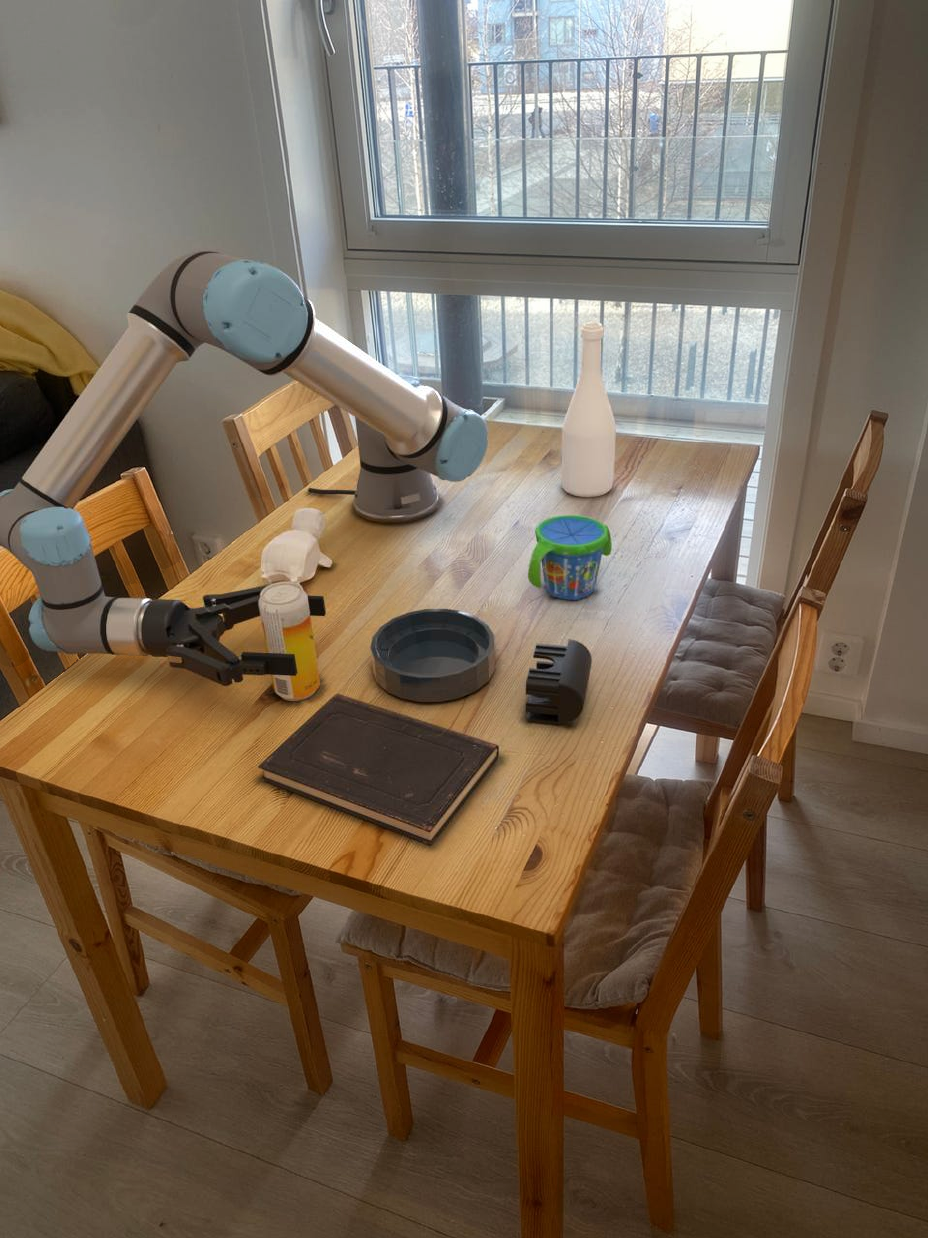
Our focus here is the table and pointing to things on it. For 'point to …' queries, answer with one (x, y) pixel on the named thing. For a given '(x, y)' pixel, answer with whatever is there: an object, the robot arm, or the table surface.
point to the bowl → (433, 655)
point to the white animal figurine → (295, 550)
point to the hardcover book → (381, 766)
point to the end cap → (558, 683)
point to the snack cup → (569, 555)
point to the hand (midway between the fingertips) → (310, 634)
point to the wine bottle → (589, 426)
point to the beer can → (290, 637)
